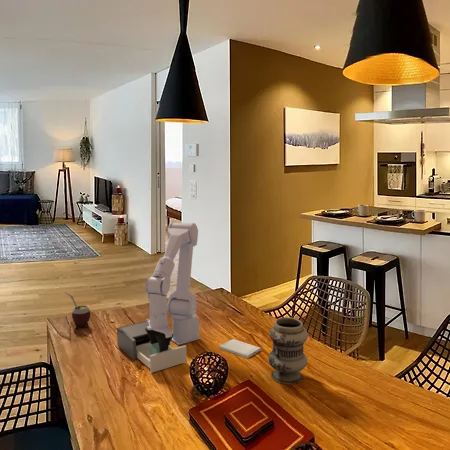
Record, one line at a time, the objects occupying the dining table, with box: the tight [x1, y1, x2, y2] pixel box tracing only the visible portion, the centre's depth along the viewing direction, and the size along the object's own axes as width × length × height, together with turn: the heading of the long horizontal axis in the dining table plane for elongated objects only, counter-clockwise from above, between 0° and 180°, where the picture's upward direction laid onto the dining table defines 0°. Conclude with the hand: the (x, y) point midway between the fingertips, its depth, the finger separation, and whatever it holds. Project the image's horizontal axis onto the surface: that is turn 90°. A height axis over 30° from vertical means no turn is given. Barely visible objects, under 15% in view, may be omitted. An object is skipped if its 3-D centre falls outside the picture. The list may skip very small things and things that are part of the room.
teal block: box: [150, 343, 160, 355], centre depth 149 cm, size 4×4×4 cm
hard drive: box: [219, 338, 262, 359], centre depth 158 cm, size 2×8×12 cm
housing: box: [116, 320, 171, 361], centre depth 159 cm, size 14×14×7 cm
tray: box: [136, 341, 188, 374], centre depth 151 cm, size 13×17×6 cm
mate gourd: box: [64, 291, 91, 330], centre depth 178 cm, size 8×8×15 cm
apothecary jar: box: [267, 316, 309, 386], centre depth 137 cm, size 12×12×18 cm
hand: (159, 350), depth 149 cm, fingers open, 6 cm apart
